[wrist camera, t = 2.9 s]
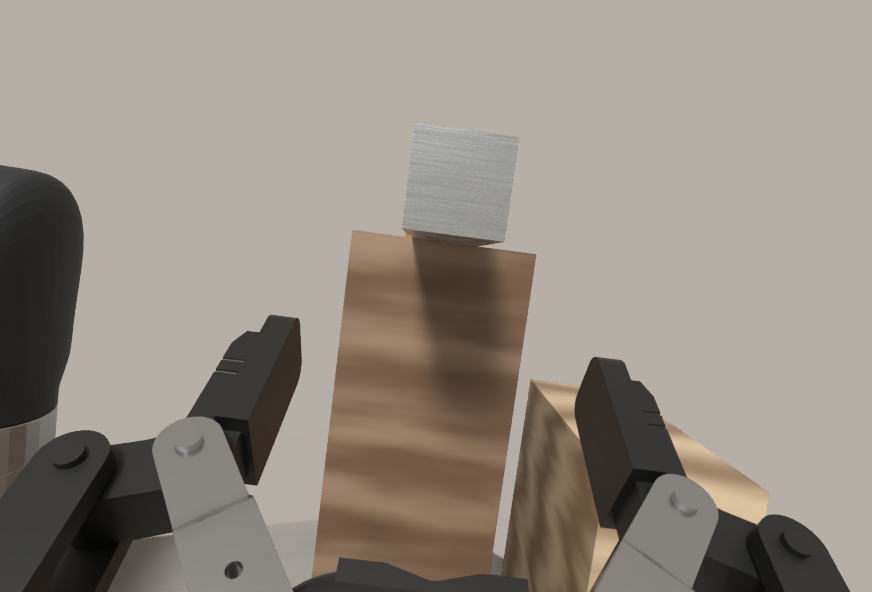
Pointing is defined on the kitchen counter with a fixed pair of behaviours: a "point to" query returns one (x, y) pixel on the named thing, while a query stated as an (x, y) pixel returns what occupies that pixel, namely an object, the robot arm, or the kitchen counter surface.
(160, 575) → the kitchen counter surface
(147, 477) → the robot arm
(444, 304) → the walnut stand
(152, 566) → the kitchen counter surface
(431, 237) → the steel pin
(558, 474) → the beige slab
